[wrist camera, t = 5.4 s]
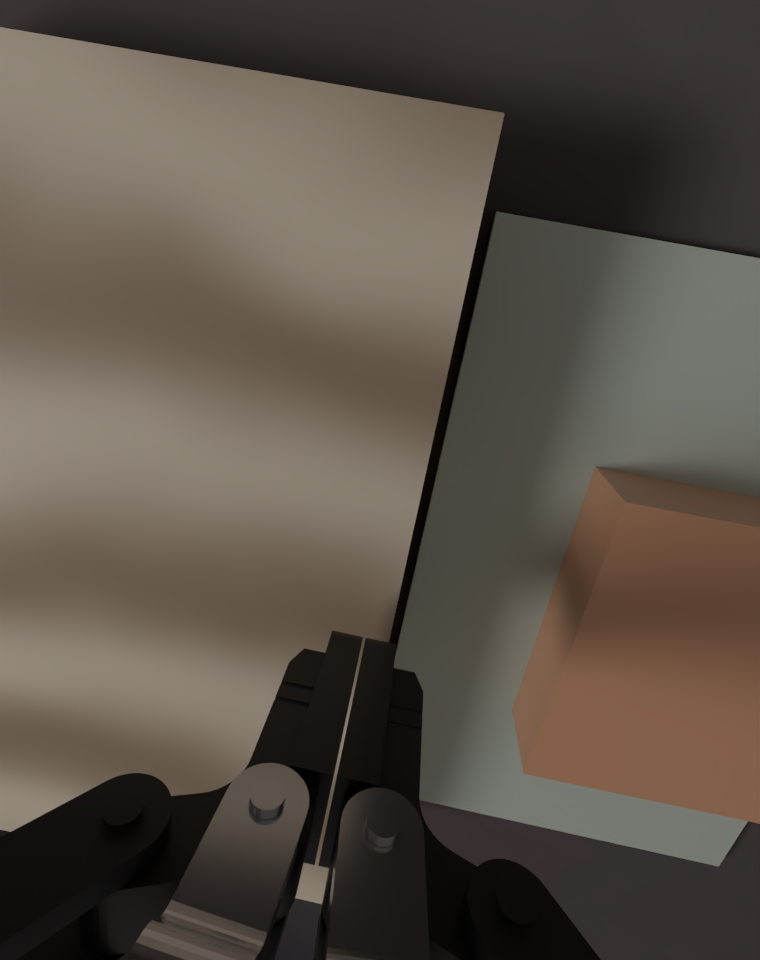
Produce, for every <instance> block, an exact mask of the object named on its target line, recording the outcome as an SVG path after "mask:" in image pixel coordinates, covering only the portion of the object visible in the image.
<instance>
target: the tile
mask: <svg viewBox="0 0 760 960" xmlns="http://www.w3.org/2000/svg"><path fill="white" fill-rule="evenodd" d="M512 711H513V717H514V723H515V728H516V734H517V740H518V745H519V751H520V757H521V762H522V768H523V774H527V775H532V776H537V777H541V778H546V779H551V780H556V781H560V782H565V783H570V784H575V785H579V786H584V787H589V788H594V789H598V790H603V791H608V792H612V793H617V794H622V795H627V796H631V797H636V798H641V799H646V800H650V801H655V802H660V803H665V804H669V805H674V806H679V807H683V808H688V809H693V810H698V811H702V812H707V813H712V814H717V815H721V816H726V817H731V818H736V819H740V820H745V821H750V822H755V823H759V824H760V498H758V497H753V496H748V495H743V494H737V493H732V492H727V491H721V490H716V489H711V488H706V487H700V486H695V485H690V484H684V483H679V482H674V481H669V480H663V479H658V478H653V477H647V476H642V475H637V474H632V473H626V472H621V471H616V470H610V469H605V468H600V467H595V468H594V471H593V474H592V477H591V480H590V483H589V486H588V489H587V492H586V495H585V498H584V501H583V503H582V506H581V509H580V512H579V515H578V518H577V521H576V524H575V527H574V530H573V533H572V536H571V539H570V541H569V544H568V547H567V550H566V553H565V556H564V559H563V562H562V565H561V568H560V571H559V574H558V577H557V579H556V582H555V585H554V588H553V591H552V594H551V597H550V600H549V603H548V606H547V609H546V612H545V615H544V617H543V620H542V623H541V626H540V629H539V632H538V635H537V638H536V641H535V644H534V647H533V650H532V653H531V655H530V658H529V661H528V664H527V667H526V670H525V673H524V676H523V679H522V682H521V685H520V688H519V691H518V693H517V696H516V699H515V702H514V705H513V708H512Z"/></svg>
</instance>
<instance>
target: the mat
mask: <svg viewBox="0 0 760 960" xmlns="http://www.w3.org/2000/svg"><path fill="white" fill-rule="evenodd" d="M595 467H600V468H605V469H610V470H616V471H621V472H626V473H632V474H637V475H642V476H647V477H653V478H658V479H663V480H669V481H674V482H679V483H684V484H690V485H695V486H700V487H706V488H711V489H716V490H721V491H727V492H732V493H737V494H743V495H748V496H753V497H758V498H760V258H755V257H750V256H744V255H738V254H733V253H727V252H721V251H716V250H710V249H705V248H699V247H693V246H688V245H682V244H677V243H671V242H665V241H660V240H654V239H648V238H643V237H637V236H632V235H626V234H620V233H615V232H609V231H603V230H598V229H592V228H587V227H581V226H575V225H570V224H564V223H558V222H553V221H547V220H542V219H536V218H530V217H525V216H519V215H513V214H508V213H502V212H496V213H495V216H494V221H493V225H492V229H491V234H490V238H489V243H488V247H487V252H486V256H485V260H484V265H483V269H482V274H481V278H480V282H479V287H478V291H477V296H476V300H475V304H474V309H473V313H472V318H471V322H470V326H469V331H468V335H467V340H466V344H465V349H464V353H463V357H462V362H461V366H460V371H459V375H458V379H457V384H456V388H455V393H454V397H453V401H452V406H451V410H450V415H449V419H448V423H447V428H446V432H445V437H444V441H443V445H442V450H441V454H440V459H439V463H438V468H437V472H436V476H435V481H434V485H433V490H432V494H431V498H430V503H429V507H428V512H427V516H426V520H425V525H424V529H423V534H422V538H421V542H420V547H419V551H418V556H417V560H416V564H415V569H414V573H413V578H412V582H411V587H410V591H409V595H408V600H407V604H406V609H405V613H404V617H403V622H402V626H401V631H400V635H399V639H398V644H397V648H396V653H395V661H394V668H397V669H401V670H406V671H410V672H415V674H416V676H417V678H418V681H419V683H420V685H421V688H422V690H423V712H422V731H421V733H422V740H421V765H420V791H419V800H422V801H427V802H431V803H436V804H440V805H445V806H449V807H454V808H458V809H463V810H467V811H472V812H476V813H481V814H485V815H490V816H494V817H499V818H503V819H508V820H512V821H517V822H521V823H526V824H530V825H535V826H539V827H544V828H548V829H553V830H557V831H562V832H566V833H571V834H575V835H580V836H584V837H589V838H593V839H597V840H602V841H606V842H611V843H615V844H620V845H624V846H629V847H633V848H638V849H642V850H647V851H651V852H656V853H660V854H665V855H669V856H674V857H678V858H683V859H687V860H692V861H696V862H701V863H705V864H710V865H714V866H719V865H720V864H721V862H722V861H723V859H724V858H725V856H726V854H727V853H728V851H729V850H730V848H731V847H732V845H733V844H734V842H735V841H736V839H737V837H738V836H739V834H740V833H741V831H742V830H743V828H744V827H745V825H746V824H747V822H748V821H745V820H740V819H736V818H731V817H726V816H721V815H717V814H712V813H707V812H702V811H698V810H693V809H688V808H683V807H679V806H674V805H669V804H665V803H660V802H655V801H650V800H646V799H641V798H636V797H631V796H627V795H622V794H617V793H612V792H608V791H603V790H598V789H594V788H589V787H584V786H579V785H575V784H570V783H565V782H560V781H556V780H551V779H546V778H541V777H537V776H532V775H527V774H523V768H522V762H521V757H520V751H519V745H518V740H517V734H516V728H515V723H514V717H513V711H512V708H513V705H514V702H515V699H516V696H517V693H518V691H519V688H520V685H521V682H522V679H523V676H524V673H525V670H526V667H527V664H528V661H529V658H530V655H531V653H532V650H533V647H534V644H535V641H536V638H537V635H538V632H539V629H540V626H541V623H542V620H543V617H544V615H545V612H546V609H547V606H548V603H549V600H550V597H551V594H552V591H553V588H554V585H555V582H556V579H557V577H558V574H559V571H560V568H561V565H562V562H563V559H564V556H565V553H566V550H567V547H568V544H569V541H570V539H571V536H572V533H573V530H574V527H575V524H576V521H577V518H578V515H579V512H580V509H581V506H582V503H583V501H584V498H585V495H586V492H587V489H588V486H589V483H590V480H591V477H592V474H593V471H594V468H595Z"/></svg>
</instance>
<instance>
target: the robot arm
mask: <svg viewBox="0 0 760 960" xmlns="http://www.w3.org/2000/svg"><path fill="white" fill-rule="evenodd" d="M362 639H363V637H361V636H356V635H351V634H347V633H342V632H338V631H332V633H331V636H330V639H329V642H328V646H327V649H326V652H325V653H324V652H319V651H315V650H310V649H306V648H304V649H303V650H302V651H301V652H300V653H299V654H298V655H296V656H295V657H294V658H293V659H292V660H291V661H290V662H289V664H288V666H287V669H286V671H285V674H284V676H283V679H282V682H281V684H280V686H279V689H278V691H277V694H276V697H275V700H274V702H273V704H272V707H271V709H270V712H269V714H268V717H267V719H266V722H265V724H264V727H263V729H262V732H261V734H260V737H259V739H258V742H257V744H256V747H255V749H254V752H253V754H252V757H251V759H250V761H249V763H248V765H247V767H246V768H245V769H244V771H242V772H241V773H240V774H239V775H238V776H236V778H235V779H234V780H233V781H232V782H230V783H229V784H227V785H225V786H223V787H221V788H219V789H216V790H213V791H210V792H204V793H196V794H186V795H176V796H171V794H170V792H169V790H168V788H167V786H166V785H165V784H164V783H163V782H162V781H161V780H160V779H158V778H156V777H154V776H152V775H148V774H143V773H129V774H124V775H120V776H117V777H114V778H112V779H110V780H107V781H105V782H103V783H102V784H100V785H98V786H96V787H94V788H92V789H90V790H88V791H87V792H85V793H83V794H81V795H79V796H77V797H75V798H73V799H72V800H70V801H68V802H66V803H64V804H62V805H60V806H58V807H57V808H55V809H53V810H51V811H49V812H47V813H45V814H43V815H42V816H40V817H38V818H36V819H34V820H32V821H30V822H29V823H27V824H25V825H23V826H21V827H19V828H17V829H15V830H14V831H12V832H10V833H8V834H6V835H4V836H2V837H0V960H275V957H276V953H277V950H278V947H279V944H280V940H281V937H282V934H283V931H284V927H285V924H286V921H287V918H288V914H289V910H290V908H291V906H292V904H293V902H294V900H295V897H296V893H297V889H298V885H299V881H300V876H301V872H302V868H303V864H304V863H307V864H312V865H315V861H316V856H317V851H318V847H319V842H320V837H321V833H322V828H323V824H324V819H325V814H326V810H327V805H328V800H329V796H330V791H331V786H332V782H333V777H334V772H335V768H336V763H337V758H338V754H339V749H340V744H341V740H342V735H343V730H344V726H345V721H346V716H347V712H348V707H349V702H350V697H351V693H352V688H353V683H354V678H355V673H356V668H357V664H358V659H359V654H360V649H361V644H362ZM395 652H396V644H393V643H389V642H384V641H379V640H375V639H370V638H366V639H365V643H364V648H363V653H362V658H361V663H360V667H359V672H358V677H357V682H356V687H355V691H354V696H353V701H352V706H351V711H350V715H349V720H348V725H347V730H346V735H345V739H344V744H343V749H342V754H341V759H340V763H339V768H338V773H337V778H336V783H335V788H334V792H333V797H332V802H331V807H330V812H329V816H328V821H327V826H326V831H325V836H324V840H323V845H322V850H321V855H320V860H319V864H318V866H321V867H326V868H329V870H328V876H327V881H326V886H325V892H324V897H323V902H322V906H321V911H320V916H319V921H318V928H317V936H316V944H315V952H314V960H600V958H599V957H598V956H597V954H596V953H595V952H594V950H593V949H592V948H591V946H590V945H589V944H588V943H587V941H586V940H585V939H584V937H583V936H582V935H581V933H580V932H579V931H578V929H577V928H576V927H575V925H574V924H573V923H572V922H571V920H570V919H569V918H568V916H567V915H566V914H565V912H564V911H563V910H562V908H561V907H560V906H559V904H558V903H557V902H556V900H555V899H554V898H553V897H552V895H551V894H550V893H549V891H548V890H547V889H546V887H545V886H544V885H543V884H542V882H541V881H540V880H539V879H538V878H537V877H536V876H535V875H534V874H533V873H532V872H530V871H529V870H528V869H526V868H525V867H523V866H522V865H520V864H518V863H516V862H513V861H510V860H505V859H492V860H488V861H486V862H484V863H482V864H481V865H479V866H478V867H477V866H475V865H474V864H472V863H470V862H469V861H467V860H465V859H464V858H462V857H460V856H459V855H457V854H455V853H454V852H452V851H451V850H449V849H448V848H446V847H445V846H444V845H443V844H442V843H441V842H439V841H438V840H437V838H436V837H435V836H434V835H433V834H432V832H431V831H430V830H429V828H428V827H427V825H426V823H425V821H424V818H423V816H422V813H421V809H420V802H419V791H420V765H421V740H422V733H421V731H422V712H423V690H422V688H421V685H420V683H419V681H418V678H417V676H416V674H415V672H410V671H406V670H401V669H397V668H394V661H395Z"/></svg>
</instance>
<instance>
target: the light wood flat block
mask: <svg viewBox="0 0 760 960" xmlns="http://www.w3.org/2000/svg"><path fill="white" fill-rule="evenodd" d="M504 114H505V113H501V112H495V111H489V110H484V109H478V108H472V107H466V106H460V105H454V104H448V103H442V102H437V101H431V100H425V99H419V98H413V97H407V96H401V95H396V94H390V93H384V92H378V91H372V90H366V89H360V88H354V87H349V86H343V85H337V84H331V83H325V82H319V81H313V80H308V79H302V78H296V77H290V76H284V75H278V74H272V73H266V72H261V71H255V70H249V69H243V68H237V67H231V66H225V65H220V64H214V63H208V62H202V61H196V60H190V59H184V58H178V57H173V56H167V55H161V54H155V53H149V52H143V51H137V50H132V49H126V48H120V47H114V46H108V45H102V44H96V43H90V42H85V41H79V40H73V39H67V38H61V37H55V36H49V35H44V34H38V33H32V32H26V31H20V30H14V29H8V28H2V27H0V830H5V831H9V832H12V831H14V830H15V829H17V828H19V827H21V826H23V825H25V824H27V823H29V822H30V821H32V820H34V819H36V818H38V817H40V816H42V815H43V814H45V813H47V812H49V811H51V810H53V809H55V808H57V807H58V806H60V805H62V804H64V803H66V802H68V801H70V800H72V799H73V798H75V797H77V796H79V795H81V794H83V793H85V792H87V791H88V790H90V789H92V788H94V787H96V786H98V785H100V784H102V783H103V782H105V781H107V780H110V779H112V778H114V777H117V776H120V775H124V774H129V773H143V774H148V775H152V776H154V777H156V778H158V779H160V780H161V781H162V782H163V783H164V784H165V785H166V786H167V788H168V790H169V792H170V794H171V796H176V795H186V794H196V793H204V792H210V791H213V790H216V789H219V788H221V787H223V786H225V785H227V784H229V783H230V782H232V781H233V780H234V779H235V778H236V776H238V775H239V774H240V773H241V772H242V771H244V769H245V768H246V767H247V765H248V763H249V761H250V759H251V757H252V754H253V752H254V749H255V747H256V744H257V742H258V739H259V737H260V734H261V732H262V729H263V727H264V724H265V722H266V719H267V717H268V714H269V712H270V709H271V707H272V704H273V702H274V700H275V697H276V694H277V691H278V689H279V686H280V684H281V682H282V679H283V676H284V674H285V671H286V669H287V666H288V664H289V662H290V661H291V660H292V659H293V658H294V657H295V656H296V655H298V654H299V653H300V652H301V651H302V650H303V649H304V648H306V649H310V650H315V651H319V652H324V653H325V652H326V649H327V646H328V642H329V639H330V636H331V633H332V631H338V632H342V633H347V634H351V635H356V636H361V637H363V639H362V644H361V649H360V654H359V659H358V664H357V668H356V673H355V678H354V683H353V688H352V693H351V697H350V702H349V707H348V712H347V716H346V721H345V726H344V730H343V735H342V740H341V744H340V749H339V754H338V758H337V763H336V768H335V772H334V777H333V782H332V786H331V791H330V796H329V800H328V805H327V810H326V814H325V819H324V824H323V828H322V833H321V837H320V842H319V847H318V851H317V856H316V861H315V865H312V864H307V863H304V864H303V868H302V872H301V876H300V881H299V885H298V889H297V893H296V897H295V898H298V899H302V900H306V901H311V902H315V903H319V904H322V902H323V897H324V892H325V886H326V881H327V876H328V870H329V868H326V867H321V866H318V864H319V860H320V855H321V850H322V845H323V840H324V836H325V831H326V826H327V821H328V816H329V812H330V807H331V802H332V797H333V792H334V788H335V783H336V778H337V773H338V768H339V763H340V759H341V754H342V749H343V744H344V739H345V735H346V730H347V725H348V720H349V715H350V711H351V706H352V701H353V696H354V691H355V687H356V682H357V677H358V672H359V667H360V663H361V658H362V653H363V648H364V643H365V639H366V638H370V639H375V640H379V641H384V642H389V640H390V635H391V630H392V626H393V621H394V617H395V612H396V608H397V603H398V598H399V594H400V589H401V585H402V580H403V576H404V571H405V566H406V562H407V557H408V553H409V548H410V544H411V539H412V535H413V530H414V525H415V521H416V516H417V512H418V507H419V503H420V498H421V493H422V489H423V484H424V480H425V475H426V471H427V466H428V461H429V457H430V452H431V448H432V443H433V439H434V434H435V429H436V425H437V420H438V416H439V411H440V407H441V402H442V397H443V393H444V388H445V384H446V379H447V375H448V370H449V365H450V361H451V356H452V352H453V347H454V343H455V338H456V333H457V329H458V324H459V320H460V315H461V311H462V306H463V301H464V297H465V292H466V288H467V283H468V279H469V274H470V269H471V265H472V260H473V256H474V251H475V247H476V242H477V237H478V233H479V228H480V224H481V219H482V215H483V210H484V205H485V201H486V196H487V192H488V187H489V183H490V178H491V173H492V169H493V164H494V160H495V155H496V151H497V146H498V141H499V137H500V132H501V128H502V123H503V119H504Z"/></svg>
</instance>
